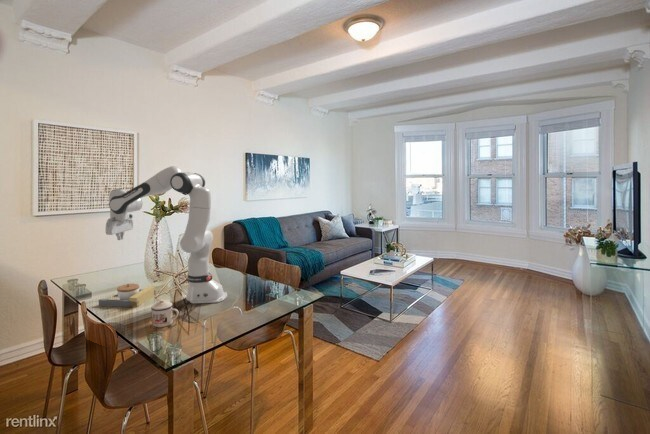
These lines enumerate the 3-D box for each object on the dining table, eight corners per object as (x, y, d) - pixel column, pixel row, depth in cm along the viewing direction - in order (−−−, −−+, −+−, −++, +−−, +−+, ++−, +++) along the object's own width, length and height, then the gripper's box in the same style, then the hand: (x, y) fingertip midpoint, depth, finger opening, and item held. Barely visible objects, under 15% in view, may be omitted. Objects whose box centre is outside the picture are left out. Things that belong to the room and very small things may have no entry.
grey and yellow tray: (155, 294, 196) (155, 286, 196) (137, 306, 178) (136, 297, 178) (120, 293, 197) (120, 285, 196) (98, 305, 179) (98, 296, 179)
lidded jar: (117, 299, 189) (116, 283, 188) (138, 295, 195) (137, 279, 194) (118, 305, 180) (117, 288, 179) (141, 301, 186) (140, 285, 185)
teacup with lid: (148, 327, 155) (147, 303, 153) (157, 319, 164) (156, 296, 162) (175, 327, 155) (174, 303, 154) (182, 319, 164) (181, 296, 163)
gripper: (112, 219, 187) (114, 243, 189) (134, 214, 207) (135, 236, 209) (101, 218, 187) (103, 243, 189) (124, 214, 207) (126, 236, 209)
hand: (120, 239), depth 199 cm, fingers closed
